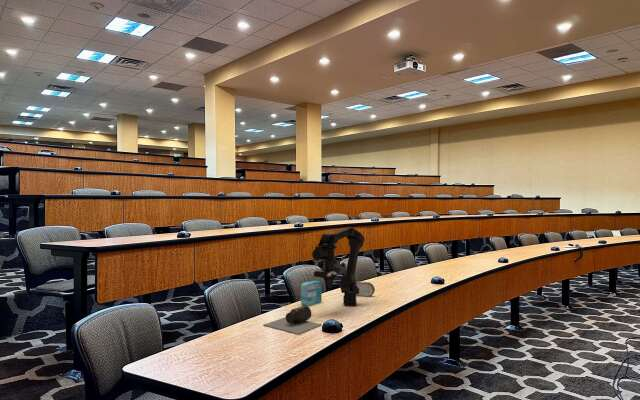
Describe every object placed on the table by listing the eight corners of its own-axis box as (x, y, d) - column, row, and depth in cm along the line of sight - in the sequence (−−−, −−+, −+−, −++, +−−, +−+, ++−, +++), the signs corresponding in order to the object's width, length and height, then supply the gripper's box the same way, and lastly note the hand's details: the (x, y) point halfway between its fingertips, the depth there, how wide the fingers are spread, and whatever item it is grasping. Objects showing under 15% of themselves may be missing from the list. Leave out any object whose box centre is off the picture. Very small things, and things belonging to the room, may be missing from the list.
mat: (287, 317, 205) (287, 316, 205) (322, 325, 191) (322, 324, 191) (263, 325, 193) (263, 324, 193) (298, 334, 179) (298, 333, 179)
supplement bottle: (299, 311, 203) (281, 316, 193) (306, 302, 200) (288, 307, 190) (307, 322, 199) (289, 328, 190) (314, 313, 196) (296, 319, 187)
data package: (306, 306, 225) (306, 284, 225) (300, 305, 228) (300, 283, 228) (321, 302, 234) (321, 280, 234) (316, 301, 237) (315, 280, 237)
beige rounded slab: (374, 296, 246) (374, 282, 246) (373, 297, 243) (373, 283, 243) (350, 294, 251) (349, 280, 251) (348, 296, 248) (348, 281, 248)
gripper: (330, 261, 201) (331, 293, 201) (352, 257, 216) (353, 287, 216) (312, 259, 208) (313, 291, 208) (335, 255, 223) (336, 284, 223)
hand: (329, 288), depth 214 cm, fingers closed
